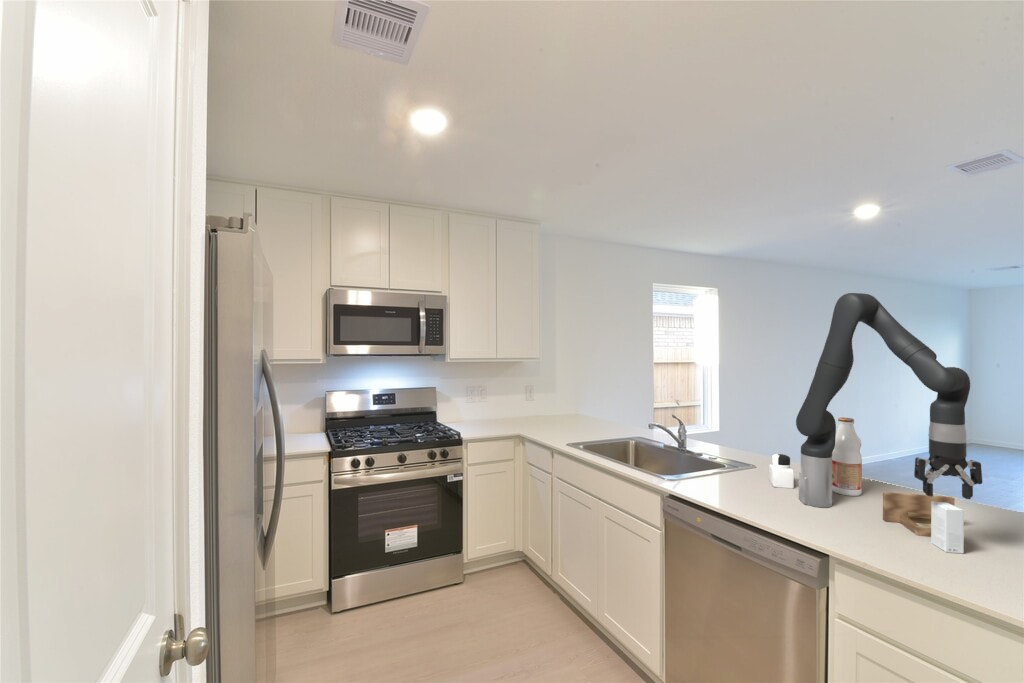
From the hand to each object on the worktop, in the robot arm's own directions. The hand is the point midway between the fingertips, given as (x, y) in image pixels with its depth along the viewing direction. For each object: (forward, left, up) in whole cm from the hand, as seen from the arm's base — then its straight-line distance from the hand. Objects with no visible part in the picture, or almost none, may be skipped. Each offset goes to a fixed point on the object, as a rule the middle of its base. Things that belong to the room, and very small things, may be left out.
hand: (947, 496), depth 124 cm
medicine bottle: (-28, +47, -15) cm, 57 cm away
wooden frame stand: (+2, +13, -14) cm, 19 cm away
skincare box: (0, 0, -15) cm, 15 cm away
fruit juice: (-7, +44, -15) cm, 47 cm away
